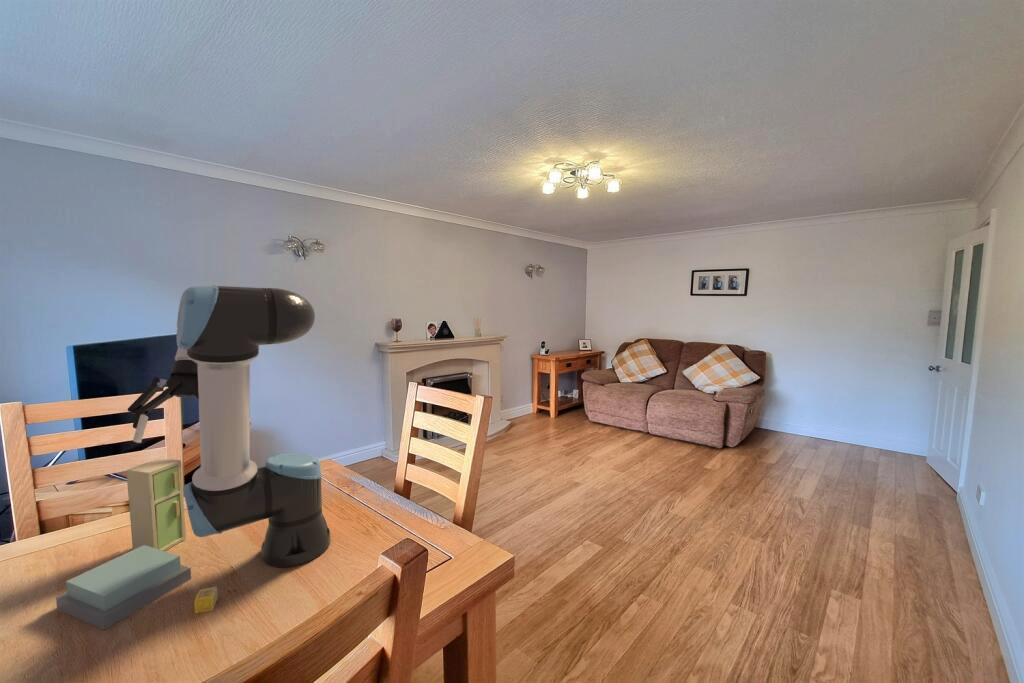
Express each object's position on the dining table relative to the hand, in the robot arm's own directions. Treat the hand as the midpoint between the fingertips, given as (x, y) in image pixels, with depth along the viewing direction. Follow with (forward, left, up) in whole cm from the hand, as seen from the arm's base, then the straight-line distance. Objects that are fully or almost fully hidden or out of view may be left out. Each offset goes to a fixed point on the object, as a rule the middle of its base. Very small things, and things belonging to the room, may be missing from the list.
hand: (170, 442), depth 103 cm
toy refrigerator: (-1, +4, -25) cm, 26 cm away
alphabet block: (-32, +14, -26) cm, 43 cm away
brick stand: (-13, +17, -25) cm, 33 cm away
